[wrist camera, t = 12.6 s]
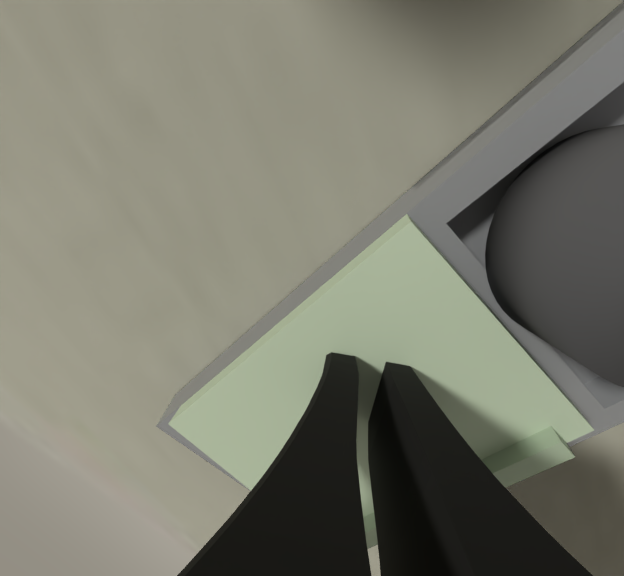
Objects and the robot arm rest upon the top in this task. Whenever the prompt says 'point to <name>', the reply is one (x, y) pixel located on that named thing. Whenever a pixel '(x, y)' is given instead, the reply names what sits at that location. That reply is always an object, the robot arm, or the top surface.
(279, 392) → the cover
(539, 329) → the dark grey pebble
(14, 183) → the top surface
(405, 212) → the grey ball tray
